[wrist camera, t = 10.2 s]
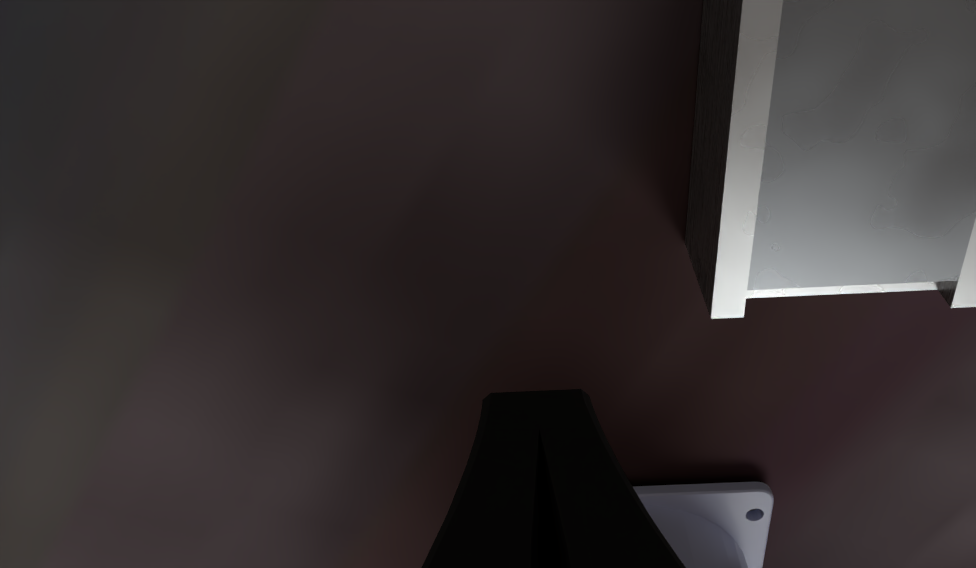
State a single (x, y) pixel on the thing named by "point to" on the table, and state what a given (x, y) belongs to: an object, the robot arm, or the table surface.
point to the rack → (834, 150)
